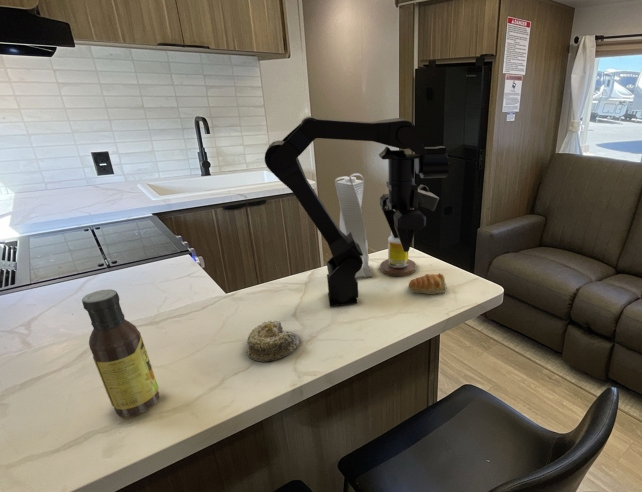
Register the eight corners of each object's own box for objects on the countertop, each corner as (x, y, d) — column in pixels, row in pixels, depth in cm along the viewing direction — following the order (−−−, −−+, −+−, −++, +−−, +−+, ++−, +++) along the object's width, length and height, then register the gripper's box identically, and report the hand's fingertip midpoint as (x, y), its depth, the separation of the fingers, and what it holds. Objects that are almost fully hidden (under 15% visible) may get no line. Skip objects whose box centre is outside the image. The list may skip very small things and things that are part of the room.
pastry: (411, 297, 98) (411, 283, 97) (406, 284, 104) (406, 271, 103) (448, 293, 100) (448, 279, 99) (440, 281, 106) (441, 268, 105)
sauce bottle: (169, 399, 65) (137, 292, 57) (128, 425, 60) (87, 311, 52) (146, 386, 68) (112, 281, 60) (105, 409, 63) (62, 299, 55)
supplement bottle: (410, 267, 111) (411, 232, 107) (391, 270, 110) (391, 234, 105) (404, 259, 116) (404, 226, 112) (386, 262, 114) (385, 228, 110)
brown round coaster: (384, 278, 108) (384, 274, 107) (377, 263, 116) (377, 259, 116) (420, 274, 110) (420, 270, 110) (410, 260, 119) (411, 256, 119)
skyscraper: (373, 279, 107) (370, 174, 95) (342, 282, 105) (335, 175, 93) (368, 266, 114) (364, 167, 103) (339, 269, 112) (332, 168, 101)
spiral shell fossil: (263, 372, 73) (256, 348, 70) (238, 349, 79) (230, 327, 76) (309, 345, 79) (304, 322, 77) (283, 326, 85) (277, 304, 83)
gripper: (450, 186, 83) (446, 256, 89) (423, 169, 99) (421, 229, 106) (398, 189, 80) (398, 261, 86) (378, 171, 96) (380, 232, 102)
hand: (401, 244), depth 95 cm, fingers open, 9 cm apart
